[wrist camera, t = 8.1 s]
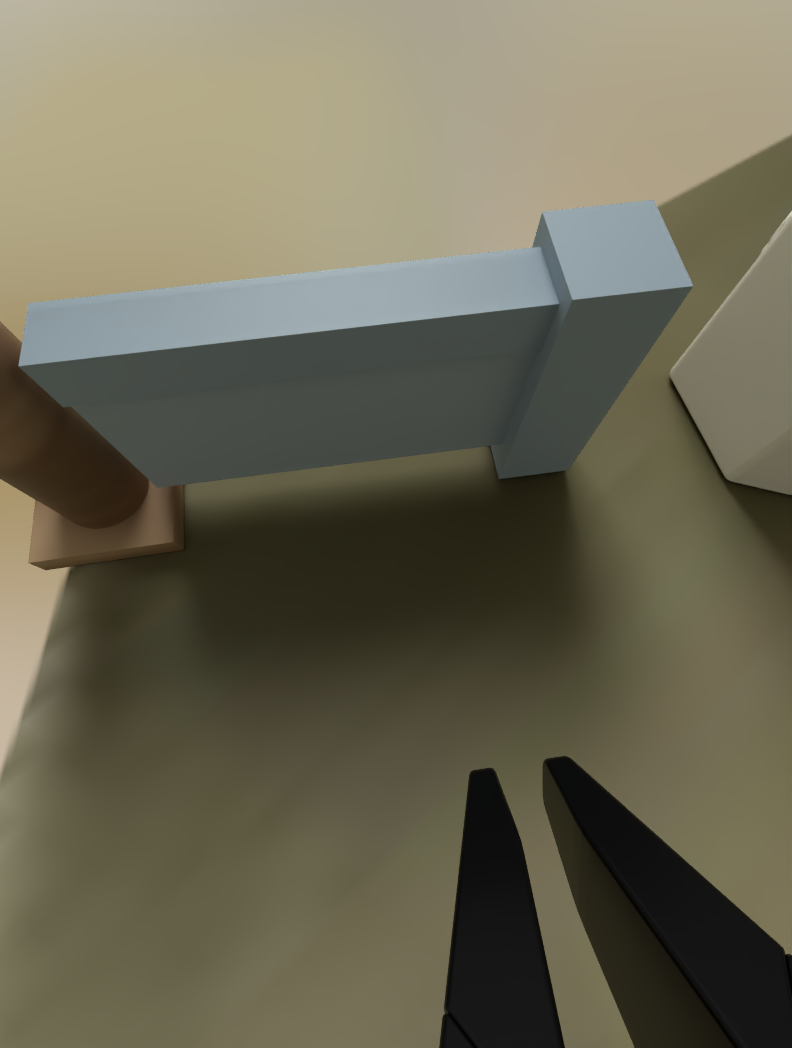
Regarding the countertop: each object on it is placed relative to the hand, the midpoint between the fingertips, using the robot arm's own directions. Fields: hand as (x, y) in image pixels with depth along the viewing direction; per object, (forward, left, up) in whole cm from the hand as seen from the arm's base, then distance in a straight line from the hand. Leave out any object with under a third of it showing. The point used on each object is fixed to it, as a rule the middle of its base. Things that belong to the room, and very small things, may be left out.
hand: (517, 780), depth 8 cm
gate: (+9, +2, -6) cm, 11 cm away
